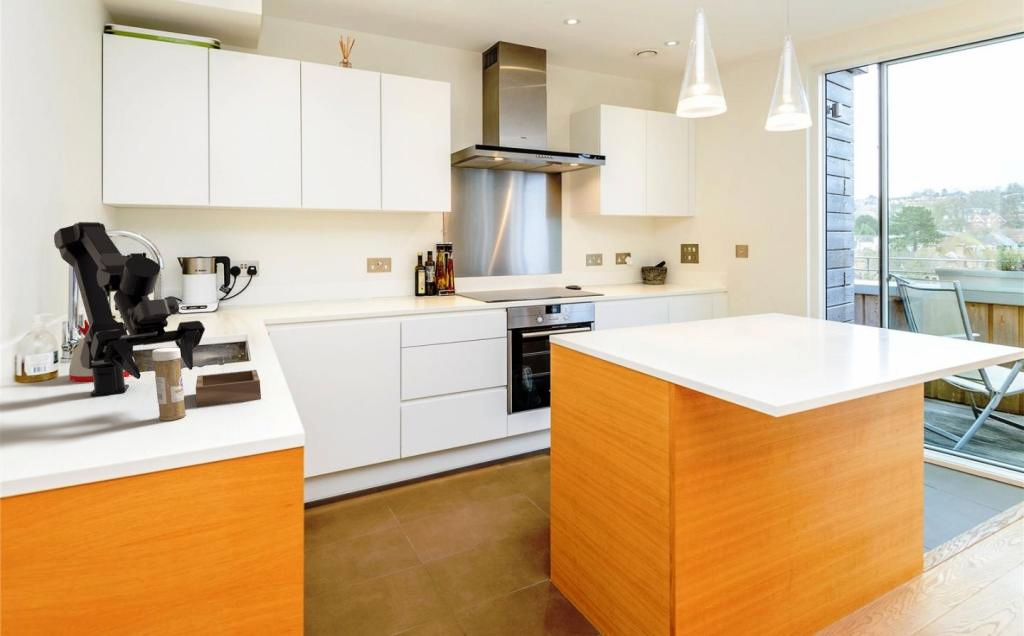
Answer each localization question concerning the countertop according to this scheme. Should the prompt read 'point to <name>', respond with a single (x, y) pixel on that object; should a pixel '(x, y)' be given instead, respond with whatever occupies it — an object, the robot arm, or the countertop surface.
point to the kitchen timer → (76, 369)
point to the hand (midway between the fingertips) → (166, 372)
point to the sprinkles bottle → (169, 383)
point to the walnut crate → (227, 388)
